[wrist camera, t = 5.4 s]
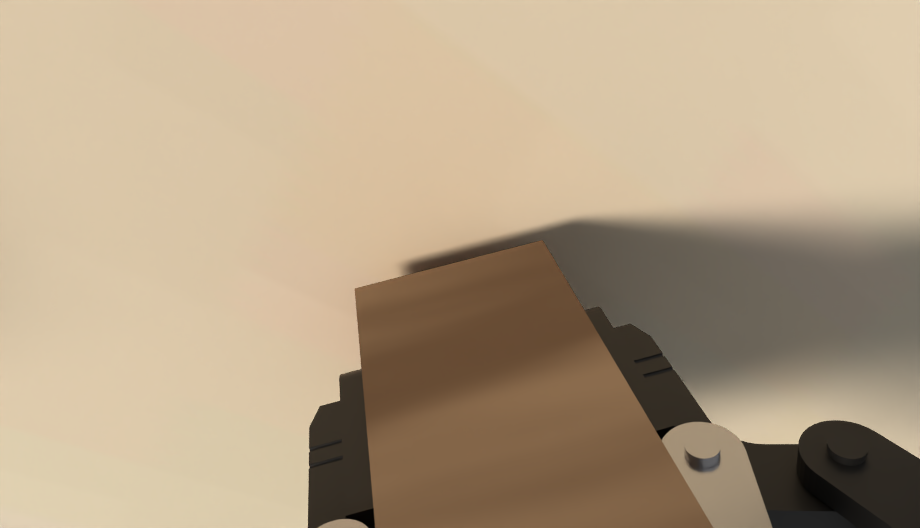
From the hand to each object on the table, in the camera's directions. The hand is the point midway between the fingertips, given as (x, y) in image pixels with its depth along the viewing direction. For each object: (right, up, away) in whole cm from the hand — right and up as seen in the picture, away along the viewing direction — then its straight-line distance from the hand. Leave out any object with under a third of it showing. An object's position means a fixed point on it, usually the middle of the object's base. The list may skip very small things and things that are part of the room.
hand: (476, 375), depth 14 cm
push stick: (+1, -5, +5) cm, 7 cm away
